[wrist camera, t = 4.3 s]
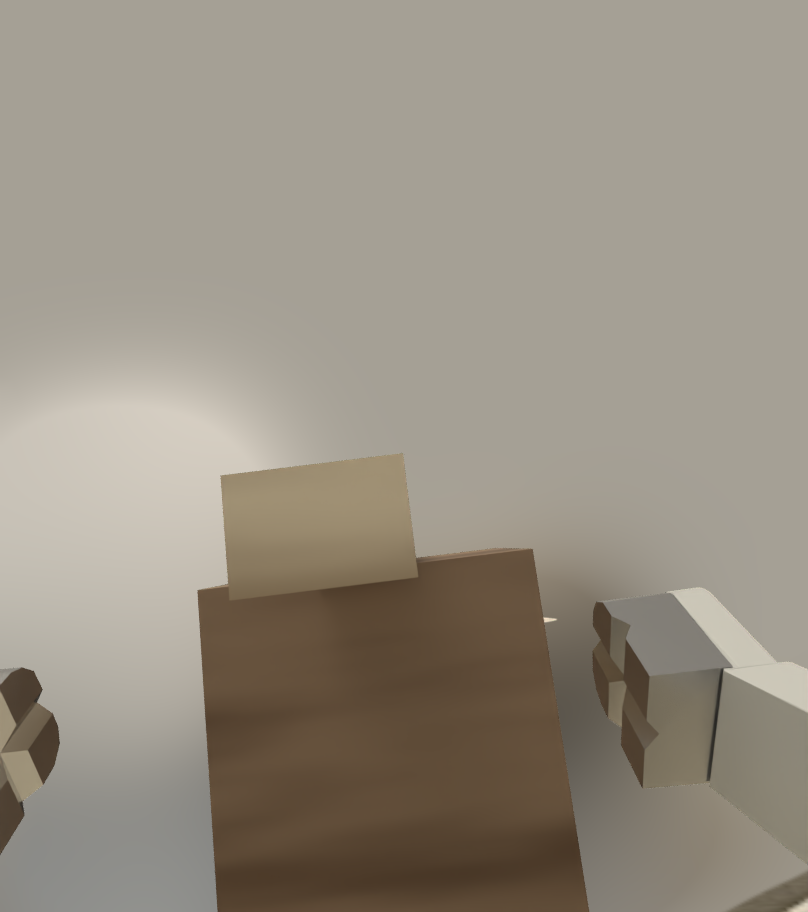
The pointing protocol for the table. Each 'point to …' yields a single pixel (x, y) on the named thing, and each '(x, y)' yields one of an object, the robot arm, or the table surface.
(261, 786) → the pedestal
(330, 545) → the slat
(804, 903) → the table surface
